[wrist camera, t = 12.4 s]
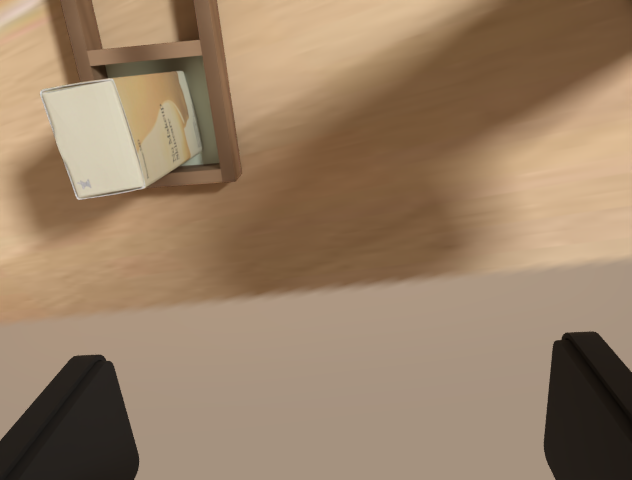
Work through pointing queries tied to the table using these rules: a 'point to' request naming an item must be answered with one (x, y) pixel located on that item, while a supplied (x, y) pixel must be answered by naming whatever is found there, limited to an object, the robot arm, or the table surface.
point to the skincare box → (122, 130)
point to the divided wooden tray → (188, 56)
